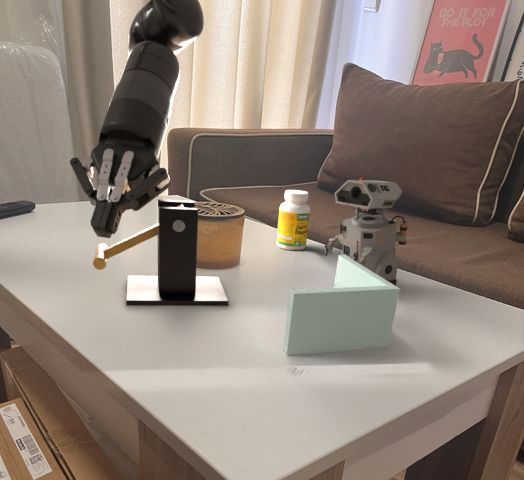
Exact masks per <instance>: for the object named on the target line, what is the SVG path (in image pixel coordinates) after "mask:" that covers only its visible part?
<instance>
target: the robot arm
mask: <svg viewBox="0 0 524 480" xmlns="http://www.w3.org/2000/svg"><path fill="white" fill-rule="evenodd" d="M204 25H205V17H204V12H203V8H202V5H201V3H200V1H199V0H149V1H147V3H146V4H145V5H143V6H142V7H141V8H140V10H138V12H137V13H136V14H135V16H134V17H133V20H132V21H131V25H130V27H129V31H128V48H127V51H128V52H127V53H128V54H127V55H128V57H127V59H126V61H125V65H124V68H123V70H122V73H121V77H120V79H119V81H118V83H117V85H116V86H115V88H114V90H113V93H112V96H111V99H110V102H109V105H108V108H107V109H106V110H107V111H106V114H105V116H104V119H103V123H102V126H101V128H100V132H99V138H98V142H97V144H96V146H94V148H93V149H92V150H91V151H90V156H87V157H86V158H84V159H81V160H80V159H79V157H76V156H75V157H72V158H71V159H70V160H69V163H70V164H69V165H70V166H71V169H72V170H73V172H74V174H75V177H76V178H77V180H78V182H79V184H80V186H81V189H82V191H83V192H84V194H85V196H86V198H87V199H88V201H89V203H90V204H91V205H92V206H94V209H93V212H92V216H91V219H90V226H91V228H92V229H93V232H94V233H95V235H96V237H98V238H105V239H111V237H112V235H115V234H116V233H117V231H118V229H119V225H120V222H121V219H122V216H123V214H124V213H125V212H126V211H128V210H132V211H133V212H138V211H140V210H142V208H144V207H145V206H146V205H148V204H149V203H150V202H152V201H154V199H156V198H157V197H158V196H159V195H161V194H163V193H164V192H165V191H166V190H168V189H169V188H170V187H171V185H172V182H171V179H170V175H169V173H168V171H167V169H166V168H165V167H160V163H159V160H158V158H159V157H160V154H161V150H162V146H163V144H164V143H163V142H164V139H165V137H166V132H167V129H168V128H169V125H170V121H171V120H170V119H171V115H172V109H173V108H172V107H173V102H174V99H175V95H176V91H177V87H178V84H179V80H180V74H181V73H180V72H181V67H180V61H179V60H178V56H177V55H178V54H179V53H180V52H182V51H183V50H184V49H185V48H187V47H188V46H189V45H191V44H192V43H193V42H195V41H196V40H197V39H198V38H199V37H200V36H201V34H202V33H203V30H204ZM94 168H95V169H96V171H97V174H98V189H96V188H95V187H94V185H93V182H92V181H91V179H93V175H94Z"/></svg>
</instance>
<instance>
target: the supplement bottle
mask: <svg viewBox="0 0 524 480" xmlns="http://www.w3.org/2000/svg"><path fill="white" fill-rule="evenodd" d="M284 200H285V201H284V202H282V203H280V206H279V210H278V222H277V233H276V246H277V247H279V248H280V249H283V250H288V251H301V250H304V249H305V248H306V247H307V240H308V232H309V224H310V215H311V207H310V206H309V205H308V204H307V202H308V200H309V192H308V191H305V190H300V189H286V190H285V191H284Z"/></svg>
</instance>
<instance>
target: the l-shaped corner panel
mask: <svg viewBox="0 0 524 480" xmlns="http://www.w3.org/2000/svg"><path fill="white" fill-rule="evenodd" d="M400 292H401V288H400V287H398V286H397V285H396V286H395V285H393V284H392V283H390V282H388V281H387V280H385V279H383V278H382V277H380V276H379V275H377V274H375V273H374V272H372V271H370V270H369V269H367V268H366V267H364V266H362V265H361V264H359V263H357V262H356V261H354V260H353V259H351V258H349V257H348V256H346V255H341V254H338V257H337V263H336V268H335V275H334V281H333V287H326V288H325V287H324V288H303V289H301V288H300V289H290V290H289V294H288V304H287V311H286V319H285V327H284V337H283V345H282V352H283V353H284V355H286V356H297V355H298V356H299V355H308V354H318V353H319V354H320V353H329V352H341V351H350V350H351V351H352V350H361V349H372V348H385V347H389V342H390V337H391V334H392V330H393V324H394V320H395V315H396V310H397V305H398V301H399V296H400Z"/></svg>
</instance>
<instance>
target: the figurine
mask: <svg viewBox="0 0 524 480" xmlns="http://www.w3.org/2000/svg"><path fill="white" fill-rule="evenodd" d="M402 194H403V191H402V189H401V187H400V186H399V185H398V184H397V183H396V182H394V181H386V180H371V179H370V180H369V179H368V180H367V179H366V180H365V177H360V178H359V179H347V180H346V181H345V182H344V183H343V184H342V185H341V186H340V187H338V189H337V190H336V191H335V192H334V199H335V204H339V205H344V206H350V207H353V210H354V211H355V212H354V216H353V217H350V218H346V219H344V220H343V221H340V223H339V228H340V229H339V233H338V234H337V235H336V236H335V237H331V238H329V239H328V243H324V248H325V257H327V256H328V253H330V254H332V252H333V249H334V248H336V246H337V244H341V245H342V248H341V253H340V255H346V256H348V257H349V258H351V259H353V260H354V261H356V262H357V263H359V264H361V265H362V266H364V267H366V268H367V269H369V270H370V271H372V272H374V273H375V274H377V275H379V276H380V277H382V278H383V279H385V280H387V281H388V282H390V283H392V284H393V285H395V286H396V287H397V282H398V280H397V274H398V273H397V272H398V259H397V256H396V250H397V249H396V243H398V245H400V246H405V245H406V244H407V232H408V221H406V220H405V218H404V217H403V216H402V215H396V216H394V217H393V218H391V217H388V216H385V214H386V212H387V210H386V209H392V208H393V206H394V205H395V203H396V201H397V200H399V198H400V197H401V196H402ZM397 218H401V220H402V221H400V226H399V231H397V225H398V224H397V223H398V220H397Z"/></svg>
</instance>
